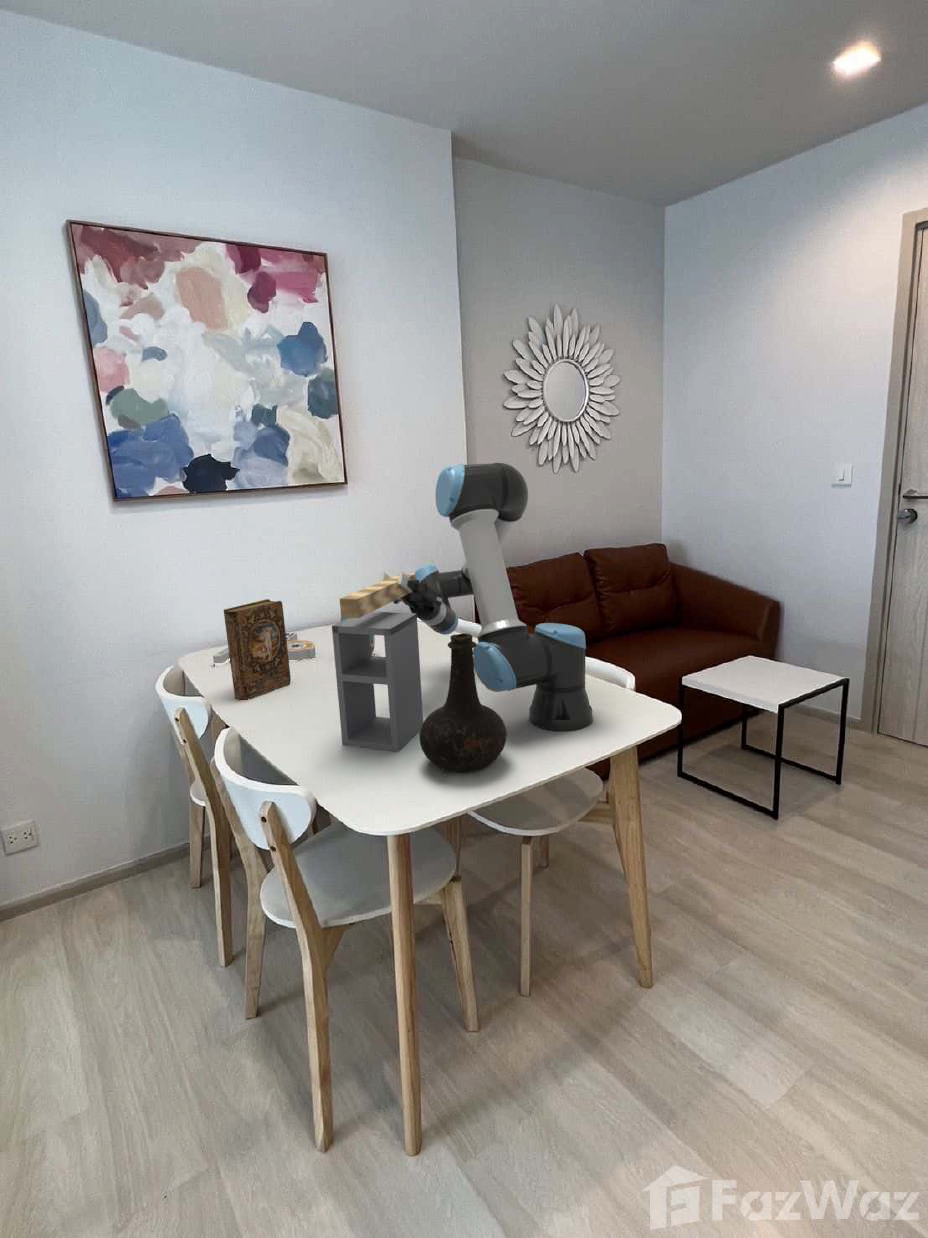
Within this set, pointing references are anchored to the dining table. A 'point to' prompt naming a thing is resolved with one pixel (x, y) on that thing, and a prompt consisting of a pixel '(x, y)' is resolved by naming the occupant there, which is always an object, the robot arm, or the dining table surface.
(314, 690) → the dining table surface
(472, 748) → the glass bottle
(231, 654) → the book
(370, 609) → the wooden bar
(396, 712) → the shelf
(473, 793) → the dining table surface
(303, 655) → the sign
